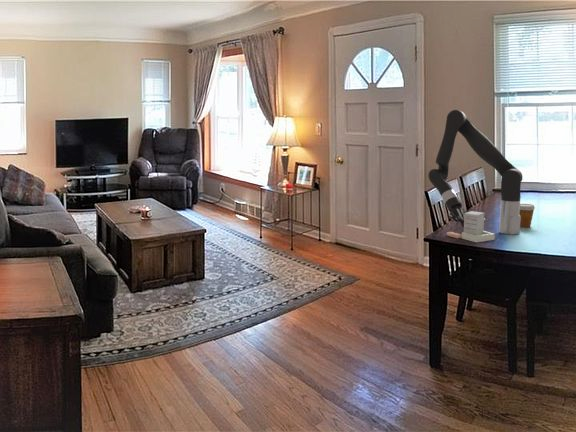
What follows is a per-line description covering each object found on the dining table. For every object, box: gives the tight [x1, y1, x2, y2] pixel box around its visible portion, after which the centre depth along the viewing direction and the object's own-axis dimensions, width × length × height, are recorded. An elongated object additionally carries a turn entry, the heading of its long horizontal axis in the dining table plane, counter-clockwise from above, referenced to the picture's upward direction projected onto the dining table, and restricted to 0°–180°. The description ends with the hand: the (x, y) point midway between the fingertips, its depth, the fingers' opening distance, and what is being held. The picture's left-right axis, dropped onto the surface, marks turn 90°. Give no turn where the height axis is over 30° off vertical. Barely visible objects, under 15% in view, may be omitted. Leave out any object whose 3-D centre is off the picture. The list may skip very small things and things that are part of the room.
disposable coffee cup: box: [519, 203, 536, 229], centre depth 301 cm, size 10×10×12 cm
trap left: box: [446, 231, 463, 239], centre depth 281 cm, size 8×3×2 cm, turn 25°
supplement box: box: [463, 210, 485, 236], centre depth 278 cm, size 7×7×13 cm
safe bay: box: [461, 230, 496, 243], centre depth 275 cm, size 10×12×3 cm
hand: (466, 227), depth 282 cm, fingers closed
